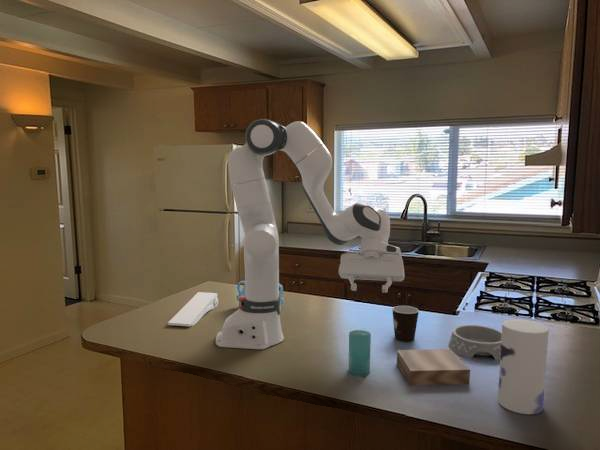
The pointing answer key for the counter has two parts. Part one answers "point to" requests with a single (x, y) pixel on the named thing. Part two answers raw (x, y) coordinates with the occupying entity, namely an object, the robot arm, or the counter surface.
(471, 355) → the dog bowl
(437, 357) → the wavy tan tile
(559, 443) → the counter surface
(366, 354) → the teal rounded cylinder
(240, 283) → the blue figurine
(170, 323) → the white curved piece
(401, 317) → the coffee mug
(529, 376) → the container
